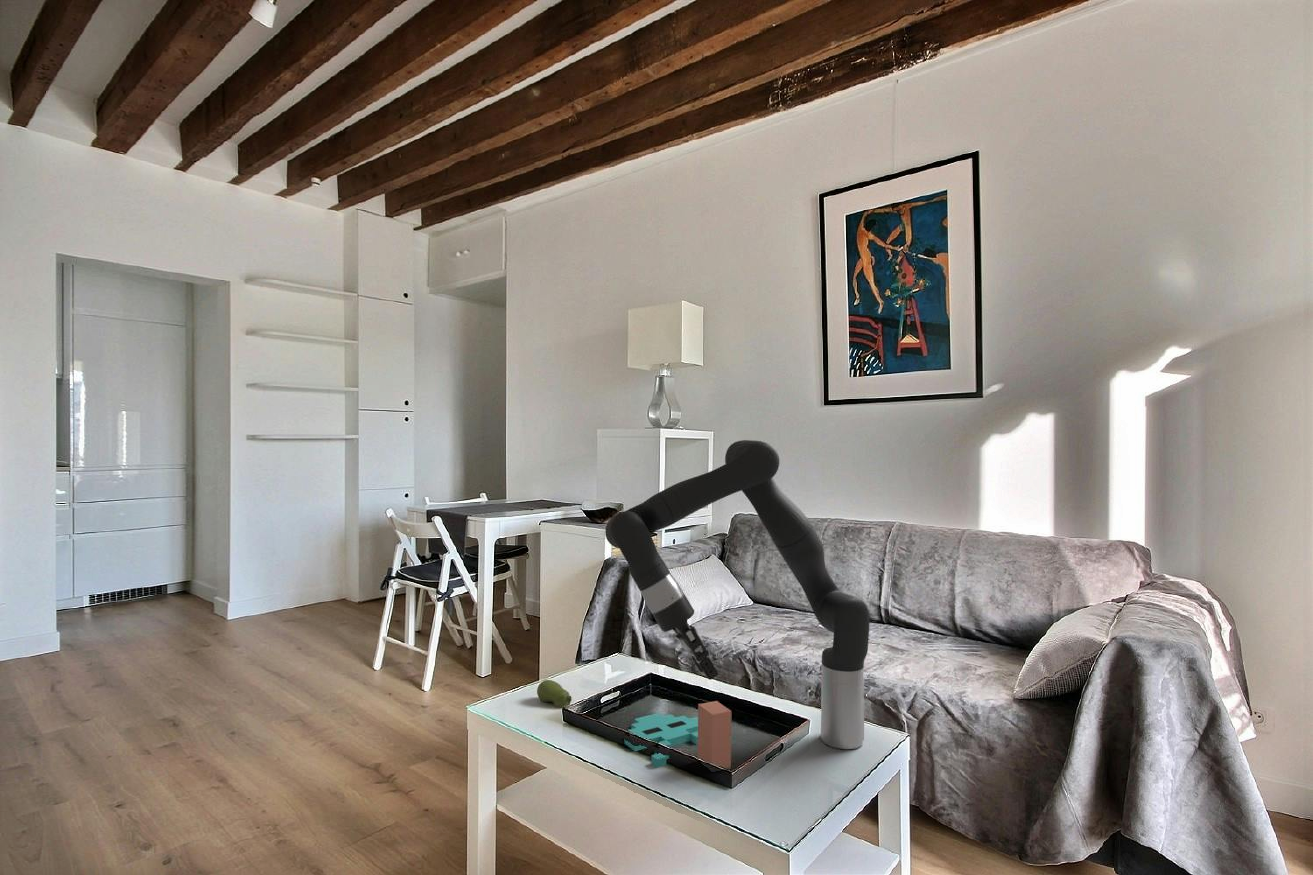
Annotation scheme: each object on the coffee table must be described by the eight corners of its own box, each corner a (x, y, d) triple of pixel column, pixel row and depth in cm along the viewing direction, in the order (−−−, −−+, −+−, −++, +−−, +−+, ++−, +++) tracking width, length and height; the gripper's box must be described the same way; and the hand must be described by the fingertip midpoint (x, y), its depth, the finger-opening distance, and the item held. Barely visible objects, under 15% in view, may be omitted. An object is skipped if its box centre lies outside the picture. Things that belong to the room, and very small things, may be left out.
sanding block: (715, 756, 150) (716, 700, 150) (730, 768, 144) (731, 710, 144) (697, 760, 148) (698, 704, 148) (711, 773, 142) (712, 714, 142)
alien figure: (732, 747, 155) (680, 716, 172) (732, 737, 155) (680, 707, 172) (657, 770, 144) (609, 734, 161) (657, 759, 144) (609, 724, 161)
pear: (549, 674, 183) (577, 688, 178) (546, 693, 184) (574, 708, 178) (534, 680, 179) (562, 695, 173) (531, 699, 179) (559, 715, 174)
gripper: (689, 593, 132) (733, 668, 131) (677, 589, 146) (717, 657, 145) (655, 615, 131) (700, 691, 130) (646, 608, 145) (687, 677, 144)
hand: (709, 673), depth 137 cm, fingers open, 8 cm apart
